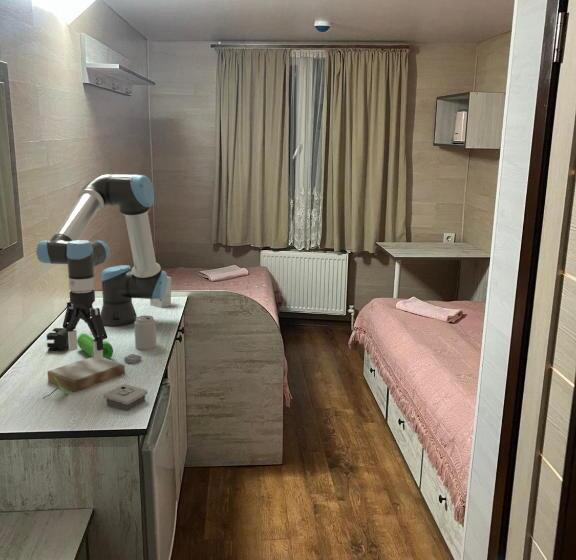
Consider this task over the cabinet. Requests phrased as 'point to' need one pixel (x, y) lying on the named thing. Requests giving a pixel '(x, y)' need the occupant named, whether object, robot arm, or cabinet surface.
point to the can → (145, 333)
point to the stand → (85, 373)
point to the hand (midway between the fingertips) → (85, 354)
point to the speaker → (87, 345)
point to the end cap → (58, 339)
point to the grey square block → (132, 358)
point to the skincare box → (165, 299)
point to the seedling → (59, 387)
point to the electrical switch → (125, 397)
